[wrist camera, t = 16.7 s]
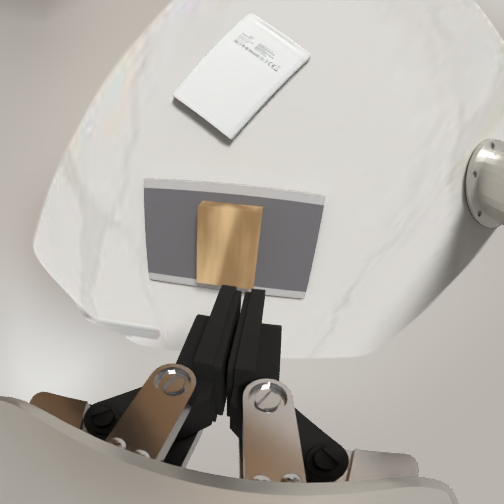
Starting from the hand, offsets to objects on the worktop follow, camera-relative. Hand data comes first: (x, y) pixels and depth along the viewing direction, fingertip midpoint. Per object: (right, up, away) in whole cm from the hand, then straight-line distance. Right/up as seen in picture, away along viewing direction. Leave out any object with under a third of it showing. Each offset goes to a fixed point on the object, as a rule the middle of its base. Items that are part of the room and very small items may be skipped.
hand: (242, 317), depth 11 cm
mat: (-2, +4, +21) cm, 21 cm away
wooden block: (-5, +4, +19) cm, 20 cm away
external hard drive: (-1, +21, +13) cm, 25 cm away
